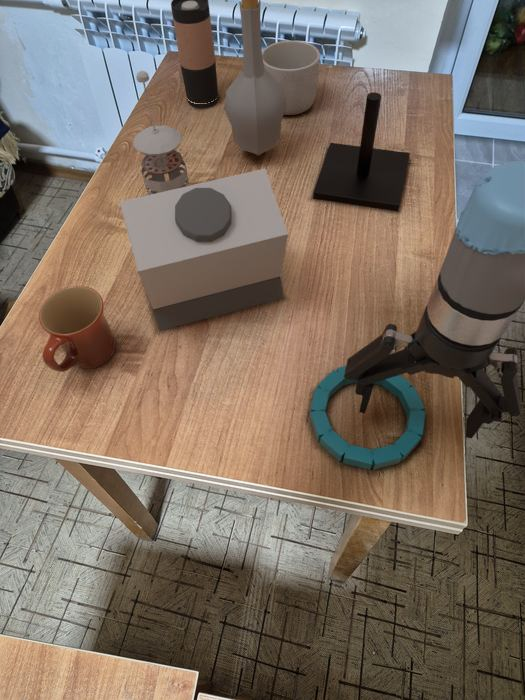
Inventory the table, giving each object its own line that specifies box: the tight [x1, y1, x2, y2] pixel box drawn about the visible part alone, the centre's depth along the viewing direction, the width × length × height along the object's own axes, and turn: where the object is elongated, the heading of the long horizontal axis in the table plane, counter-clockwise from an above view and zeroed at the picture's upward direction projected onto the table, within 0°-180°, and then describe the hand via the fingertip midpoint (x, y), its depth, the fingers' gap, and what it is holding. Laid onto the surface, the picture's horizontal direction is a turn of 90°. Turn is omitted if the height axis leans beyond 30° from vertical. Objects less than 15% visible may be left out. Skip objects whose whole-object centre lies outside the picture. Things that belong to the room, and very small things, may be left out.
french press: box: [132, 70, 191, 195], centre depth 87 cm, size 10×12×25 cm
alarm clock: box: [119, 168, 289, 332], centre depth 76 cm, size 20×16×20 cm
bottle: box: [223, 0, 287, 157], centre depth 93 cm, size 11×11×30 cm
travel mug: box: [170, 0, 219, 109], centre depth 109 cm, size 8×8×20 cm
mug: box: [38, 285, 117, 373], centre depth 73 cm, size 12×9×10 cm
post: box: [312, 91, 411, 212], centre depth 93 cm, size 16×16×16 cm
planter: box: [262, 40, 321, 116], centre depth 110 cm, size 12×12×11 cm
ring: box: [309, 365, 426, 471], centre depth 70 cm, size 15×15×2 cm
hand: (415, 416), depth 67 cm, fingers open, 13 cm apart
